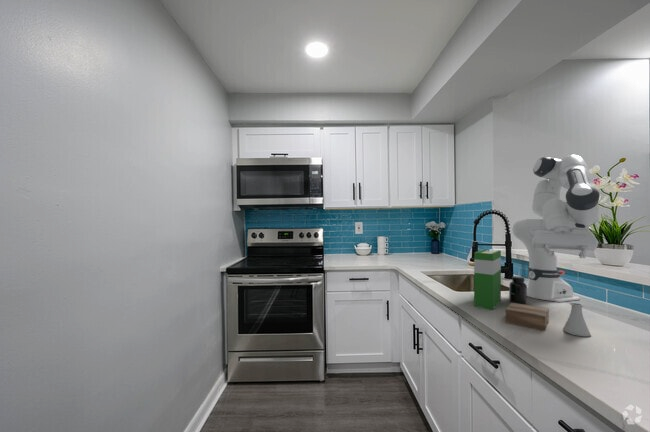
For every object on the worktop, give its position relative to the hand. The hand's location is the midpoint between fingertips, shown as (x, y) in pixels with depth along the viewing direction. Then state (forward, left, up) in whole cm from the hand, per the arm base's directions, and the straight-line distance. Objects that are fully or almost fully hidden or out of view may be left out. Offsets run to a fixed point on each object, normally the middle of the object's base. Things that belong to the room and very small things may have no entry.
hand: (567, 256), depth 111 cm
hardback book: (+15, -25, -25) cm, 38 cm away
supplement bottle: (0, -25, -25) cm, 35 cm away
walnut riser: (+16, -1, -25) cm, 30 cm away
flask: (+7, +10, -25) cm, 28 cm away
